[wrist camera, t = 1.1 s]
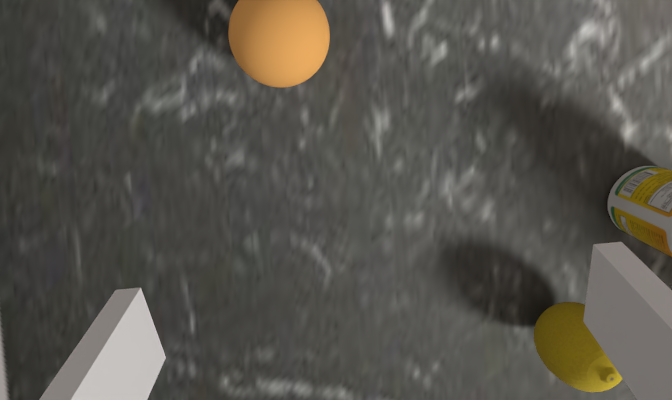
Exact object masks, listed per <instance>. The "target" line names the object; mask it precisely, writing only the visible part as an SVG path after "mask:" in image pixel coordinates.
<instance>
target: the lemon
mask: <svg viewBox="0 0 672 400" xmlns="http://www.w3.org/2000/svg"><path fill="white" fill-rule="evenodd" d="M584 311H585V305H584V304H580V303H575V302H564V303H558V304H556V305H553V306H551V307H549V308H548V309H546V310H545V311H544V312H543V313H542V314H541V315H540V317H539V319H538V320H537V322H536V325H535V329H534V342H535V346H536V349H537V352H538V354H539V356H540V358H541V359H542V361H543V362H544V364H545V365H546V367H547V368H548V369H549V370H550V371H551V372H552V373H553V374H554V375H556V376H557V377H558V378H559V379H560V380H562V381H563V382H565V383H566V384H568V385H570V386H572V387H574V388H576V389H579V390H582V391H588V392H601V391H605V390H608V389H610V388H612V387H614V386H616V385H617V384H618V383H619V382H620V381H621V380H622V379H623V378H622V377H621V375H620V374H619V373H618V371H617V370H616V368H615V367H614V365H613V364H612V362H611V361H610V360H609V358H608V357H607V355H606V354H605V352H604V351H603V349H602V348H601V346H600V345H599V344H598V342H597V341H596V339H595V338H594V336H593V335H592V333H591V332H590V331H589V329H588V328H587V326H586V325H585V323H584V322H583V319H584Z"/></svg>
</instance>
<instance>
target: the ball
mask: <svg viewBox="0 0 672 400" xmlns="http://www.w3.org/2000/svg"><path fill="white" fill-rule="evenodd" d="M228 34H229V43H230V47H231V50H232V53H233V55H234V58H235V59H236V61H237V63H238V64H239V66H240V67H241V68H242V69H243V70H244V71H245V72H246V73H247V74H248V75H249V76H250V77H251V78H253V79H255V80H256V81H258V82H260V83H262V84H265V85H268V86H272V87H290V86H294V85H297V84H300V83H302V82H304V81H306V80H307V79H309V78H310V77H311V76H312V75H314V74H315V72H316V71H317V70H318V69H319V68H320V66H321V65H322V63H323V61H324V60H325V57H326V55H327V52H328V48H329V41H330V32H329V25H328V21H327V18H326V15H325V12H324V11H323V9H322V7H321V5H320V4H319V2H318V1H317V0H239V1H238V2H237V4H236V5H235V7H234V9H233V11H232V14H231V17H230V22H229V30H228Z"/></svg>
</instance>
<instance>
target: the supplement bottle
mask: <svg viewBox="0 0 672 400" xmlns="http://www.w3.org/2000/svg"><path fill="white" fill-rule="evenodd" d="M607 206H608V212H609V215H610V218H611V220H612V221H613V223H614V224H615V225H616V226H617V227H618V228H619V229H620V230H622V231H623V232H625V233H627V234H629V235H631V236H633V237H635V238H637V239H638V240H640V241H642V242H644V243H646V244H648V245H650V246H652V247H654V248H656V249H657V250H659V251H661V252H663V253H665V254H667V255H669V256H671V257H672V171H671V170H668V169H665V168H661V167H657V166H641V167H637V168H635V169H632V170H630V171H628V172H627V173H625V174H624V175H622V176H621V177H620V178H619V179H618V180H617V181H616V183H615V184H614V185H613V187H612V189H611V191H610V194H609V197H608V205H607Z"/></svg>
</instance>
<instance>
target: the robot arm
mask: <svg viewBox="0 0 672 400" xmlns="http://www.w3.org/2000/svg"><path fill="white" fill-rule="evenodd" d="M583 322H584V323H585V325H586V326H587V328H588V329H589V331H590V332H591V333H592V335H593V336H594V338H595V339H596V341H597V342H598V344H599V345H600V346H601V348H602V349H603V351H604V352H605V354H606V355H607V357H608V358H609V360H610V361H611V362H612V364H613V365H614V367H615V368H616V370H617V371H618V373H619V374H620V375H621V377H622V378H623V380H624V381H625V383H626V384H627V386H628V387H629V388H630V390H631V391H632V393H633V394H634V396H635V397H636V399H637V400H672V290H671V289H670V288H669V287H668V286H667V285H666V284H665V283H664V282H663V281H661V280H660V279H659V278H658V277H657V276H656V275H655V274H654V273H653V272H652V271H651V270H650V269H649V268H648V267H647V266H646V265H645V264H644V263H643V262H642V261H641V260H640V259H639V258H638V257H637V256H636V255H635V254H634V253H633V252H632V251H630V250H629V249H628V248H627V247H626V246H625V245H624V244H623V243H622V242H613V243H602V244H593V251H592V259H591V266H590V274H589V281H588V289H587V296H586V304H585V311H584V319H583ZM165 358H166V357H165V354H164V351H163V348H162V345H161V343H160V340H159V337H158V334H157V332H156V329H155V326H154V323H153V320H152V318H151V315H150V312H149V309H148V307H147V304H146V301H145V298H144V295H143V293H142V290H141V288H132V289H121V290H115V292H114V293H113V295H112V296H111V298H110V299H109V300H108V302H107V303H106V305H105V306H104V308H103V309H102V310H101V312H100V313H99V315H98V316H97V318H96V319H95V321H94V322H93V323H92V325H91V326H90V328H89V329H88V331H87V332H86V333H85V335H84V336H83V338H82V339H81V341H80V342H79V343H78V345H77V346H76V348H75V349H74V351H73V352H72V354H71V355H70V356H69V358H68V359H67V361H66V362H65V364H64V365H63V366H62V368H61V369H60V371H59V372H58V374H57V375H56V376H55V378H54V379H53V381H52V382H51V384H50V385H49V387H48V388H47V389H46V391H45V392H44V394H43V395H42V397H41V398H40V399H39V400H147V399H148V396H149V394H150V392H151V390H152V387H153V385H154V383H155V381H156V379H157V376H158V374H159V372H160V370H161V367H162V365H163V363H164V361H165Z"/></svg>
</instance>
